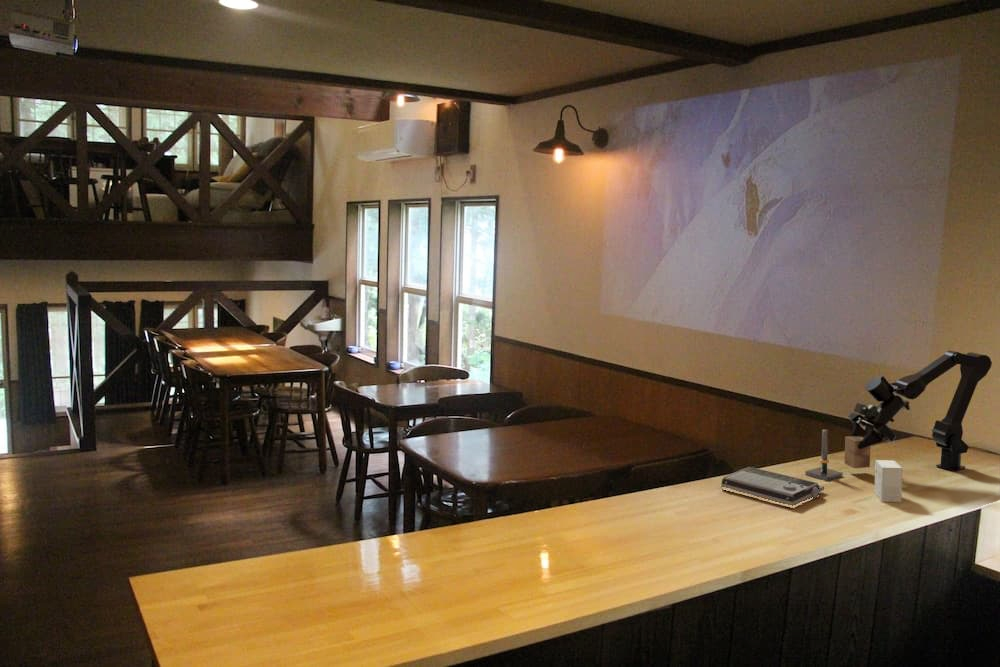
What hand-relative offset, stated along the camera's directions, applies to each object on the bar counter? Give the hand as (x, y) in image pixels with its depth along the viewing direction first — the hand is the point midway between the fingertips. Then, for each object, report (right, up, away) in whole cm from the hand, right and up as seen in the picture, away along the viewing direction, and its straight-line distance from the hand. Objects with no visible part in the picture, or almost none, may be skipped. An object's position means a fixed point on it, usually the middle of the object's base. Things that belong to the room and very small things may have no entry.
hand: (853, 445), depth 256 cm
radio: (-31, -13, -14) cm, 36 cm away
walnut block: (+2, -7, +1) cm, 7 cm away
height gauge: (-10, -10, 0) cm, 14 cm away
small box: (+1, -13, -21) cm, 25 cm away
